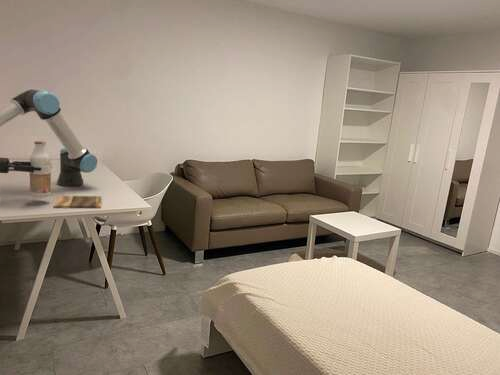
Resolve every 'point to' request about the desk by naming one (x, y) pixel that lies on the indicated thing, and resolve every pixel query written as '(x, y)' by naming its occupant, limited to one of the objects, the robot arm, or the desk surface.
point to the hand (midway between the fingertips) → (50, 167)
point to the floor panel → (78, 202)
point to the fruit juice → (40, 180)
